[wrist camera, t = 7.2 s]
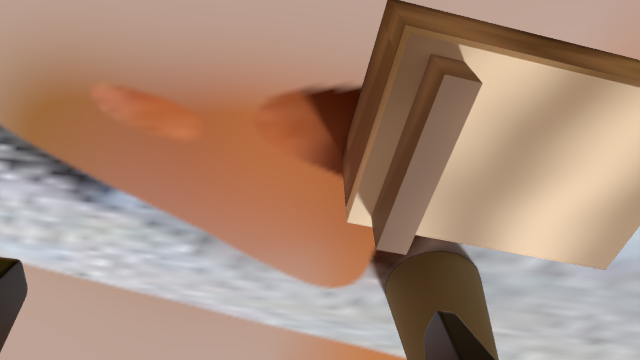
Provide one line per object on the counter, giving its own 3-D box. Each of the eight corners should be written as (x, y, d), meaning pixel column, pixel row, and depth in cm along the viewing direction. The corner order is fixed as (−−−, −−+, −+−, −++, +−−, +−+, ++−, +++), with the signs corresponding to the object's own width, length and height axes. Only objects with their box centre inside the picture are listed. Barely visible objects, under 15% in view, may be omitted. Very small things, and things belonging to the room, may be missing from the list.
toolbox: (637, 59, 21) (708, 97, 17) (551, 198, 25) (592, 253, 21) (388, -3, 19) (405, 24, 16) (341, 155, 24) (345, 206, 20)
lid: (710, 98, 17) (778, 135, 14) (593, 254, 21) (630, 304, 19) (405, 24, 15) (421, 51, 13) (345, 208, 20) (349, 255, 17)
